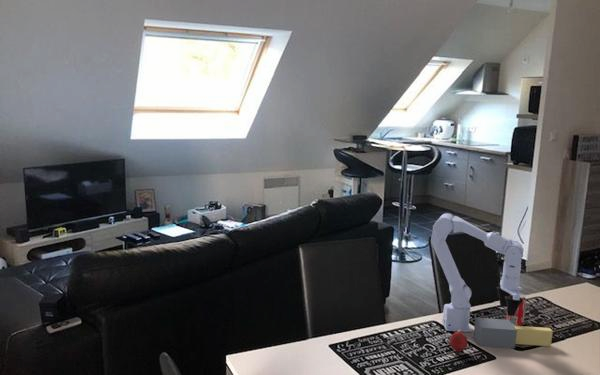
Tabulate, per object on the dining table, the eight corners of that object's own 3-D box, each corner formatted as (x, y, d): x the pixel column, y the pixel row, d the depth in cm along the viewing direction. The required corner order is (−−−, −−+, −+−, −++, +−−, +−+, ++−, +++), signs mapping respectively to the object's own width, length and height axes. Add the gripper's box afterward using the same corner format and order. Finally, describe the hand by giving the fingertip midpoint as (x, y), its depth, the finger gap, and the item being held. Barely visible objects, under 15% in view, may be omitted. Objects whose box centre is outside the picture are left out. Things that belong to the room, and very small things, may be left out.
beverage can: (519, 320, 190) (523, 292, 188) (525, 328, 184) (529, 298, 182) (503, 319, 191) (506, 291, 189) (508, 326, 185) (512, 297, 182)
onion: (457, 357, 161) (459, 335, 160) (445, 349, 166) (447, 328, 165) (469, 353, 164) (472, 332, 162) (457, 346, 169) (459, 325, 167)
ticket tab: (504, 343, 171) (506, 328, 170) (502, 339, 173) (504, 325, 172) (550, 346, 170) (552, 331, 169) (547, 342, 172) (549, 327, 171)
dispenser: (479, 346, 169) (481, 327, 168) (473, 335, 177) (475, 317, 176) (516, 348, 168) (518, 330, 167) (508, 337, 176) (510, 319, 175)
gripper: (530, 283, 164) (526, 320, 167) (515, 269, 179) (511, 303, 181) (509, 282, 165) (505, 319, 167) (495, 268, 179) (492, 302, 182)
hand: (507, 310), depth 174 cm, fingers open, 7 cm apart
